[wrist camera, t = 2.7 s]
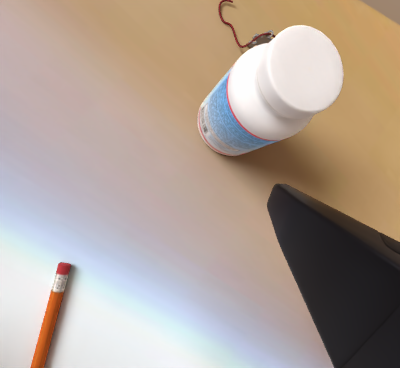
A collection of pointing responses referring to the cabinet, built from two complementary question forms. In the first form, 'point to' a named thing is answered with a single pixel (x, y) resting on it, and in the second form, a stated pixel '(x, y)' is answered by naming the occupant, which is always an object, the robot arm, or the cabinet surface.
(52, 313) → the pencil
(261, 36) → the pendant
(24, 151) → the cabinet surface
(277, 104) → the pill bottle
